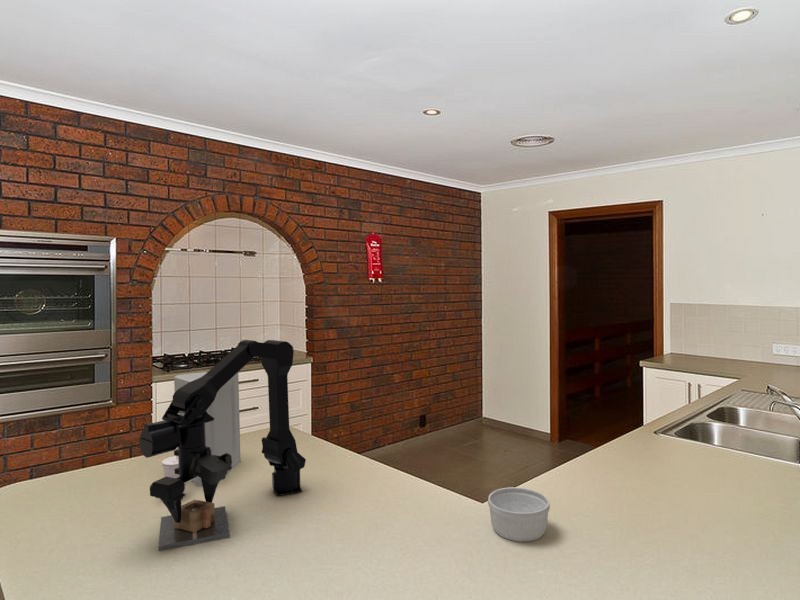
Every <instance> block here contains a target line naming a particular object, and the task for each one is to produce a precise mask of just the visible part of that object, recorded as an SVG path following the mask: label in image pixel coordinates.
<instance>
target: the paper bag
mask: <svg viewBox="0 0 800 600" xmlns="http://www.w3.org/2000/svg"><path fill="white" fill-rule="evenodd" d="M207 372H208V371H204V372H196V373H194V372H193V373H185V374H177V375H175V376H174V377H173V379H174V380H173V381H174V383H173V384H174V393H175V392H176V391H177V390H178V389H179V388H181V387H183V386H184V385H186V384H187V383H189V382H191V381H193V380H196V379H198V378H200V377H202V376H204V375H205V374H206V373H207ZM239 387H240V386H239V372H238V373H237V374H235V375H234V376H233V377H232V378H231V379H230V380H229V381H228V382H227V383H226V384H225V385H224V386H223V387H221V388H220V390H219V391H218V392H217V394H216V397H215V400H214V402H213V403H212V404H211V405H210V407H209V408H208V409H207V410H206V411H207V413H208V414H209V415H210V416H212V417H214V420H213V421H210V422H206V423H205V437H206V447H210V449H211V454H212V455H217V456H221V455H223V454H225V453H228V454H230V455H231V458H232V465H231V466H232V469H231V470H229V471H227V474H226V476H227V475H229V473H231V472H232V471H233V469H235V468H236V467H237V466H238V465H239V464H240V463H241V430H240V429H241V427H240V426H241V425H240V421H241V420H240V391H239V390H240V388H239ZM178 415H181V416H184V413H180V412H179V413H178ZM221 481H222V480H220V481H219V482H218V484H219V483H220V482H221ZM189 483H191V484H193V485H195V486H196V487H203V486H202V481H201V478H200V477H198V478H196V479H194V480H192V481H190V482H189Z"/></svg>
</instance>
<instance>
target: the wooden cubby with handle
mask: <svg viewBox="0 0 800 600" xmlns="http://www.w3.org/2000/svg"><path fill="white" fill-rule="evenodd" d="M194 507H197V508H198V509H196V510H189V509H191V508H194ZM215 508H216V507H215V502H212V503H210V502H206V500H205V501H203V500H200V499H193V500H190V501H187V503H184V504H183V505H182V504H181V522H180V523H176V522H175V520H174V528H177V529H182V530H186V531H191V532H196V531H198V530H200V529H202V528H208V527H210V526H211V523H212V522H214V521H215Z"/></svg>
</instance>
